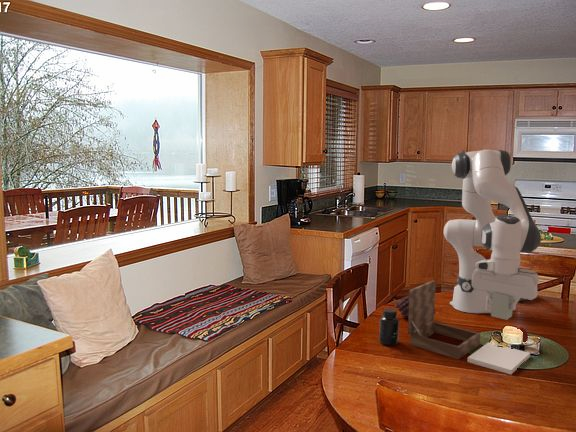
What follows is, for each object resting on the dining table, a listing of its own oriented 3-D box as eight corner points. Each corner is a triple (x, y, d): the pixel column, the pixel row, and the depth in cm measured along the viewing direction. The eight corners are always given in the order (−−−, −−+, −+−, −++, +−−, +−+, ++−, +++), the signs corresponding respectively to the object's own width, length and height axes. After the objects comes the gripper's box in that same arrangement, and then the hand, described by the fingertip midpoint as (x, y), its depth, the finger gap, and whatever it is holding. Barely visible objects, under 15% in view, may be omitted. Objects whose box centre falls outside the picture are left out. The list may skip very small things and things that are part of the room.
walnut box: (430, 330, 199) (433, 280, 196) (479, 343, 186) (483, 290, 183) (407, 344, 185) (409, 290, 183) (458, 359, 173) (461, 301, 170)
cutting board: (488, 346, 184) (488, 342, 184) (529, 357, 175) (530, 352, 174) (467, 361, 171) (467, 357, 170) (510, 374, 161) (511, 370, 161)
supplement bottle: (398, 346, 183) (399, 314, 181) (378, 345, 184) (379, 312, 183) (398, 339, 190) (399, 308, 188) (379, 338, 191) (380, 306, 189)
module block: (496, 312, 174) (498, 288, 173) (512, 316, 171) (513, 291, 170) (491, 316, 170) (492, 291, 169) (506, 319, 167) (508, 294, 166)
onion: (513, 342, 188) (515, 320, 187) (529, 346, 184) (531, 325, 183) (506, 346, 184) (508, 324, 183) (523, 351, 180) (525, 329, 179)
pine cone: (438, 320, 211) (439, 296, 209) (428, 326, 203) (429, 302, 202) (398, 311, 222) (399, 288, 220) (387, 317, 214) (388, 293, 212)
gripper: (542, 269, 164) (538, 311, 166) (478, 259, 177) (476, 298, 179) (535, 273, 159) (532, 316, 161) (470, 262, 173) (468, 302, 174)
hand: (502, 307), depth 170 cm, fingers closed on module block, 5 cm apart
